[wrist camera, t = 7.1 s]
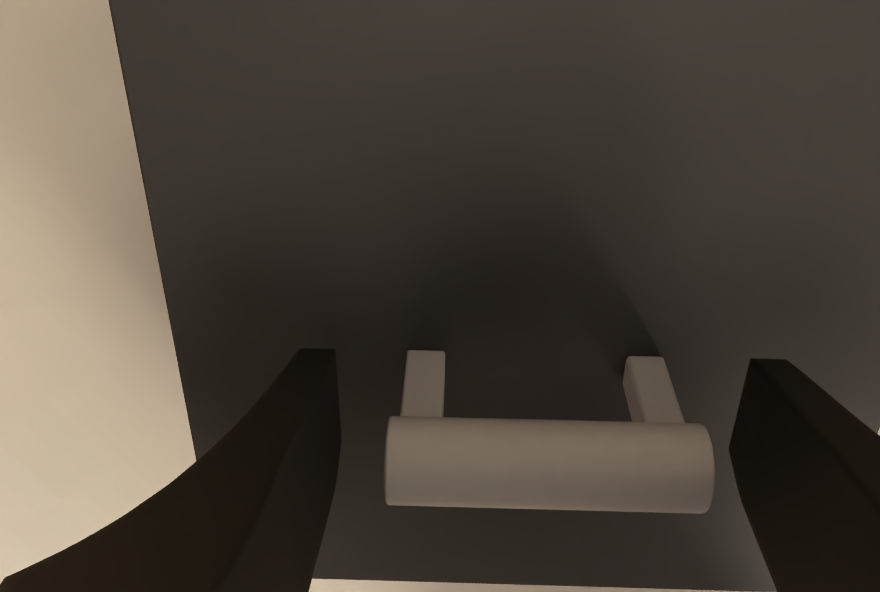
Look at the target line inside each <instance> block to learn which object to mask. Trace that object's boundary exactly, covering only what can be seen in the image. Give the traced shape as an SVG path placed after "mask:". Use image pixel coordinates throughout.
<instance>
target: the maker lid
mask: <svg viewBox="0 0 880 592" xmlns="http://www.w3.org/2000/svg"><path fill="white" fill-rule="evenodd" d="M109 6H110V11H111V16H112V21H113V26H114V32H115V37H116V42H117V47H118V53H119V58H120V63H121V68H122V73H123V79H124V84H125V89H126V94H127V100H128V105H129V110H130V115H131V121H132V126H133V131H134V136H135V141H136V147H137V152H138V157H139V162H140V168H141V173H142V178H143V183H144V189H145V194H146V199H147V204H148V209H149V215H150V220H151V225H152V230H153V236H154V241H155V246H156V251H157V257H158V262H159V267H160V272H161V277H162V283H163V288H164V293H165V298H166V304H167V309H168V314H169V319H170V324H171V330H172V335H173V340H174V345H175V351H176V356H177V361H178V366H179V372H180V377H181V382H182V387H183V392H184V398H185V403H186V408H187V413H188V419H189V424H190V429H191V434H192V440H193V445H194V450H195V455H196V460H198V459H200V458H201V457H202V456H203V455H204V454H205V453H206V452H207V451H208V450H209V449H211V448H212V447H213V446H214V445H215V444H216V443H217V442H218V441H219V440H220V439H221V438H222V437H223V436H224V435H225V434H226V433H227V432H228V431H229V430H230V429H231V428H232V427H233V426H234V425H235V424H236V423H237V422H238V421H239V419H240V418H241V417H242V416H243V415H244V414H245V413H246V412H247V411H248V409H249V408H250V407H251V406H252V405H253V404H254V403H255V402H256V401H257V399H258V398H259V397H260V396H261V395H262V394H263V393H264V391H265V390H266V389H267V388H268V387H269V385H270V384H271V383H272V382H273V381H274V379H275V378H276V377H277V376H278V374H279V373H280V372H281V371H282V369H283V368H284V367H285V366H286V364H287V363H288V362H289V361H290V359H291V358H292V357H293V355H294V354H295V353H296V352H297V351H298V350H299V349H301V348H315V349H335V350H336V364H337V378H338V392H339V406H340V420H341V434H342V442H341V450H340V458H339V465H338V473H337V480H336V487H335V492H334V496H333V500H332V504H331V508H330V512H329V516H328V519H327V523H326V527H325V531H324V535H323V538H322V542H321V546H320V550H319V554H318V557H317V561H316V565H315V569H314V572H313V576H312V578H314V579H348V580H383V581H417V582H451V583H486V584H520V585H555V586H589V587H624V588H658V589H692V590H727V591H761V592H777V590H776V588H775V585H774V583H773V580H772V578H771V575H770V573H769V570H768V568H767V565H766V563H765V560H764V558H763V556H762V553H761V551H760V548H759V546H758V543H757V541H756V538H755V536H754V533H753V530H752V528H751V525H750V523H749V520H748V518H747V515H746V513H745V510H744V507H743V505H742V502H741V499H740V495H739V491H738V487H737V483H736V480H735V475H734V471H733V467H732V462H731V458H730V453H729V449H728V448H729V444H730V440H731V436H732V432H733V428H734V424H735V420H736V415H737V411H738V407H739V403H740V399H741V395H742V391H743V386H744V382H745V378H746V374H747V370H748V366H749V362H750V358H759V359H786V360H788V361H789V362H790V363H792V364H793V365H794V366H796V367H797V368H798V369H799V370H801V371H802V372H803V373H804V374H806V375H807V376H808V377H809V378H810V379H811V380H813V381H814V382H815V383H816V384H817V385H819V386H820V387H821V388H822V389H823V390H825V391H826V392H827V393H828V394H829V395H830V396H832V397H833V398H834V399H835V400H836V401H838V402H839V403H840V404H841V405H842V406H844V407H845V408H846V409H847V410H848V411H850V412H851V413H852V414H853V415H854V416H856V417H857V418H858V419H859V420H860V421H862V422H863V423H864V424H865V425H867V426H868V427H869V428H870V429H872V430H873V431H874V432H875V433H878V430H879V427H880V0H109Z"/></svg>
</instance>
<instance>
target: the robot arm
mask: <svg viewBox="0 0 880 592" xmlns="http://www.w3.org/2000/svg"><path fill="white" fill-rule="evenodd" d="M341 442H342V434H341V420H340V406H339V392H338V378H337V364H336V350H335V349H315V348H301V349H299V350H298V351H297V352H296V353H295V354H294V355H293V357H292V358H291V359H290V361H289V362H288V363H287V364H286V366H285V367H284V368H283V369H282V371H281V372H280V373H279V374H278V376H277V377H276V378H275V379H274V381H273V382H272V383H271V384H270V385H269V387H268V388H267V389H266V390H265V391H264V393H263V394H262V395H261V396H260V397H259V398H258V399H257V401H256V402H255V403H254V404H253V405H252V406H251V407H250V408H249V409H248V411H247V412H246V413H245V414H244V415H243V416H242V417H241V418H240V419H239V421H238V422H237V423H236V424H235V425H234V426H233V427H232V428H231V429H230V430H229V431H228V432H227V433H226V434H225V435H224V436H223V437H222V438H221V439H220V440H219V441H218V442H217V443H216V444H215V445H214V446H213V447H212V448H211V449H209V450H208V451H207V452H206V453H205V454H204V455H203V456H202V457H201V458H200V459H198V460H197V461H196V462H195V463H194V464H193V465H192V466H190V467H189V468H188V469H187V470H186V471H185V472H183V473H182V474H181V475H180V476H178V477H177V478H176V479H175V480H174V481H172V482H171V483H170V484H169V485H167V486H166V487H164V488H163V489H162V490H160V491H159V492H157V493H156V494H154V495H153V496H152V497H150V498H149V499H147V500H146V501H144V502H143V503H141V504H140V505H139V506H137V507H136V508H134V509H133V510H131V511H130V512H128V513H127V514H125V515H124V516H122V517H121V518H119V519H117V520H116V521H114V522H112V523H111V524H109V525H108V526H106V527H104V528H103V529H101V530H99V531H97V532H96V533H94V534H92V535H90V536H89V537H87V538H85V539H83V540H81V541H80V542H78V543H76V544H74V545H72V546H70V547H68V548H66V549H65V550H63V551H61V552H59V553H56V554H54V555H52V556H50V557H48V558H46V559H44V560H42V561H40V562H38V563H36V564H33V565H31V566H29V567H27V568H25V569H23V570H21V571H19V572H17V573H14V574H12V575H10V576H7V577H5V578H4V580H3V581H2V583H1V584H0V592H308V591H309V588H310V584H311V580H312V576H313V572H314V569H315V565H316V561H317V557H318V554H319V550H320V546H321V542H322V538H323V535H324V531H325V527H326V523H327V519H328V516H329V512H330V508H331V504H332V500H333V496H334V492H335V487H336V480H337V473H338V465H339V458H340V450H341ZM728 449H729V453H730V458H731V462H732V467H733V471H734V475H735V480H736V483H737V487H738V491H739V495H740V499H741V502H742V505H743V507H744V510H745V513H746V515H747V518H748V520H749V523H750V525H751V528H752V530H753V533H754V536H755V538H756V541H757V543H758V546H759V548H760V551H761V553H762V556H763V558H764V560H765V563H766V565H767V568H768V570H769V573H770V575H771V578H772V580H773V583H774V585H775V588H776V590H777V592H880V436H879V435H878V434H877V433H875V432H874V431H873V430H872V429H870V428H869V427H868V426H867V425H865V424H864V423H863V422H862V421H860V420H859V419H858V418H857V417H856V416H854V415H853V414H852V413H851V412H850V411H848V410H847V409H846V408H845V407H844V406H842V405H841V404H840V403H839V402H838V401H836V400H835V399H834V398H833V397H832V396H830V395H829V394H828V393H827V392H826V391H825V390H823V389H822V388H821V387H820V386H819V385H817V384H816V383H815V382H814V381H813V380H811V379H810V378H809V377H808V376H807V375H806V374H804V373H803V372H802V371H801V370H799V369H798V368H797V367H796V366H794V365H793V364H792V363H790V362H789V361H788V360H786V359H759V358H750V362H749V366H748V370H747V374H746V378H745V382H744V386H743V391H742V395H741V399H740V403H739V407H738V411H737V415H736V420H735V424H734V428H733V432H732V436H731V440H730V444H729V448H728Z"/></svg>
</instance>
